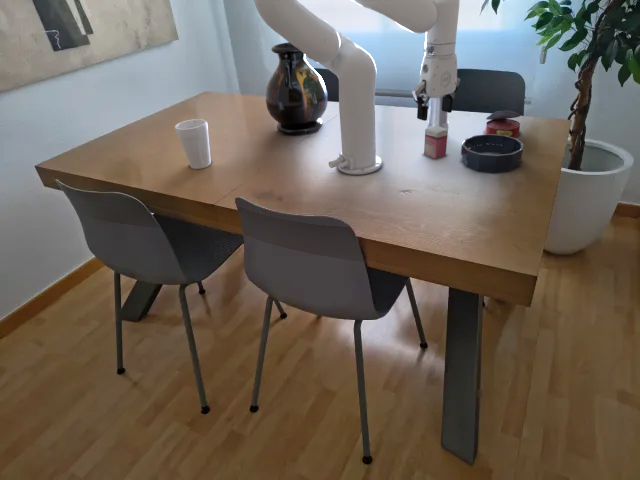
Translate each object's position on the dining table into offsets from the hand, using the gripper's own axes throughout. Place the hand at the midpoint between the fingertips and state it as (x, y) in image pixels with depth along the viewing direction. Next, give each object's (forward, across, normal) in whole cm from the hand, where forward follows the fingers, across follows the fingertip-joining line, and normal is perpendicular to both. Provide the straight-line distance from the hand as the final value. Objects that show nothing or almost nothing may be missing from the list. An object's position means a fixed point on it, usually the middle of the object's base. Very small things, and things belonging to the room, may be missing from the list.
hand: (434, 115), depth 123 cm
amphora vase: (+13, -13, +51) cm, 54 cm away
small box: (+12, +1, 0) cm, 12 cm away
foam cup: (+14, -53, +47) cm, 72 cm away
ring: (+12, +8, -14) cm, 20 cm away
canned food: (+11, +28, -3) cm, 30 cm away
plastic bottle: (+12, +13, +10) cm, 20 cm away
